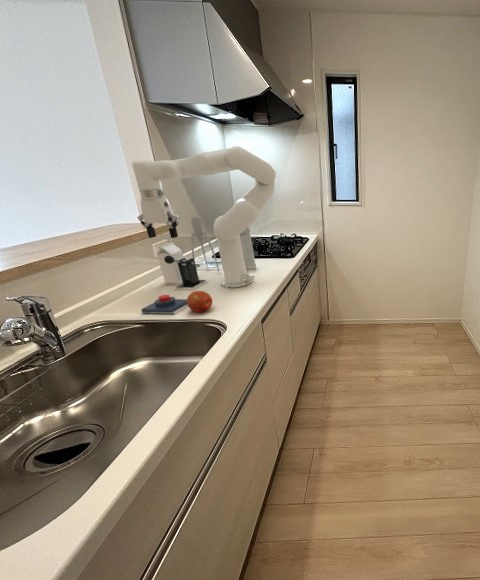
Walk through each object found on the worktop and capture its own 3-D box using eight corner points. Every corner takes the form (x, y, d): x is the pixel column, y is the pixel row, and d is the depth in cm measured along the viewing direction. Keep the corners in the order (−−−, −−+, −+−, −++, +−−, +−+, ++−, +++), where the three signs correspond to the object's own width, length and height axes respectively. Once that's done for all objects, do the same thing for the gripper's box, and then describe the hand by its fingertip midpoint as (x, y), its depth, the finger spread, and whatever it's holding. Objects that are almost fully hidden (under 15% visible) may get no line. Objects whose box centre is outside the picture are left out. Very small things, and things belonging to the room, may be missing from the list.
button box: (190, 304, 125) (188, 295, 124) (172, 315, 116) (170, 305, 115) (162, 303, 126) (159, 294, 125) (142, 314, 117) (139, 304, 116)
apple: (206, 305, 124) (201, 286, 121) (219, 309, 120) (214, 290, 117) (185, 312, 118) (180, 293, 115) (198, 317, 114) (193, 297, 111)
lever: (169, 263, 130) (170, 254, 130) (161, 263, 130) (162, 254, 131) (191, 267, 143) (192, 259, 143) (184, 267, 143) (185, 259, 144)
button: (172, 298, 121) (171, 294, 121) (166, 302, 118) (164, 298, 117) (164, 298, 122) (162, 294, 121) (157, 302, 118) (155, 298, 118)
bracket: (193, 289, 141) (186, 262, 136) (176, 289, 142) (169, 262, 137) (206, 282, 150) (200, 256, 146) (191, 282, 151) (184, 256, 146)
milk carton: (189, 280, 153) (180, 242, 147) (179, 285, 147) (168, 245, 140) (176, 279, 154) (166, 242, 147) (165, 284, 148) (154, 245, 141)
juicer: (214, 276, 158) (200, 216, 147) (196, 276, 158) (181, 216, 147) (224, 270, 168) (212, 213, 157) (208, 270, 168) (194, 213, 157)
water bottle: (259, 268, 171) (252, 222, 162) (249, 272, 164) (240, 224, 155) (246, 266, 174) (238, 221, 165) (235, 270, 167) (226, 223, 158)
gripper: (179, 193, 126) (189, 235, 132) (139, 193, 127) (151, 235, 134) (165, 195, 119) (176, 239, 125) (123, 195, 120) (136, 239, 127)
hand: (163, 237), depth 129 cm, fingers open, 9 cm apart
